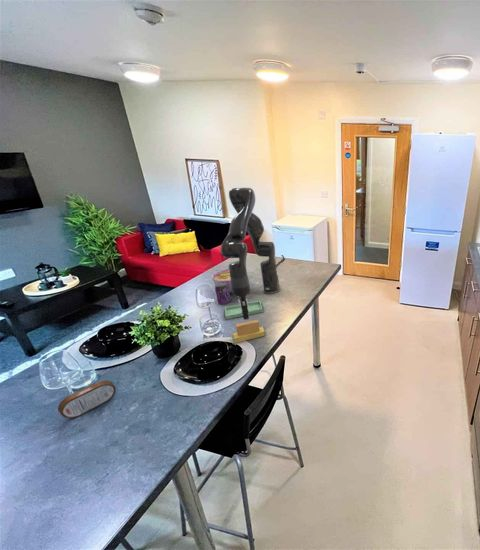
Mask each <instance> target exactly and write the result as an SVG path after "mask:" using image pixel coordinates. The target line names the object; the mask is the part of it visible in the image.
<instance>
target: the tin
mask: <svg viewBox="0 0 480 550" xmlns="http://www.w3.org/2000/svg"><path fill="white" fill-rule="evenodd" d="M116 392H117V388H116V385H115V383H113V382H112V381H111V380H108V379H107V380H100V381H97V382H94V383H93V384H90V385H88V386H86V387H84V388H81V389H80V390H78V391H76V392H73V393H71V394H68V395H66V397H64V398H63V399H62V400H61V401H60V402H59V404H58V406H57V411H58V413H59V414H60V416H62V417H63V418H66V419H75V418H77V417H80V416H82V415H84V414H86V413H87V412H90V411H91V410H94V409H95V408H97V407H99V406H101V405H103V404H105V403H107V402H109V401H110V400H111V399H112V398H113V397H114V396H115V394H116Z"/></svg>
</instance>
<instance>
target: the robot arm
mask: <svg viewBox="0 0 480 550" xmlns="http://www.w3.org/2000/svg"><path fill="white" fill-rule="evenodd" d="M228 198H229V201H230V203H231V205H232V207H233V208H234V211H236V213H237V214H236V215H235V216H234V217H233V218H232V220H231V221H230V224H229V229H228V233H227V235H226V237H225V238H224V240H223V241H222V243H221V245H220V254H221V256H222V257H223V258H225V259H239V260H236V261H232V262H230V263H229V264H228V269H229V272H230V280H231V286H232V292H233V293H232V295H233V296H234V297H237V300H238V303H239V305H240V308H242V313H243V316H242V318H243V320H249V319H250V317H249V316H250V315H248V308H247V307H248V303H249V302H248V301H249V300H248V295H249V294H250V293H251V287H250V279H249V276H248V272H247V264H246V263H247V256H248V246H247V243H245V242H244V241H245V239H246V236H247V235H248V236H249V239H250V241H251V243H252V245H253V249H254V252H255V254H256V255H257V256H258V257H261V258H267V259H264V260H262V261H261V262H260V271H261V272H260V273H261V279H262V287H263V292H264V293H265V294H268V295H270V294H271V295H272V294H277V293H278V292H279V291H280V282H279V275H278V270H277V267H278V266H279V265H280V264H281V263H282V262H283V261H284V260H285V256H284V255H283V254H282V255H280V256H281V257H282V259H281V260H280V261H279V262H278V263H277V261H276V259H277V258H276V247H275V246H276V245H275V243H274V241H261V238H262V237H263V234H264V232H265V228H264V224H263V222H262V220H261V218H260V217H259V216H258V215H257V214H256V213H254V212H253V211H254V208H255V205H256V193H255V191H254V189H253V188H251V187H233V188H230V189H229V191H228Z"/></svg>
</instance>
